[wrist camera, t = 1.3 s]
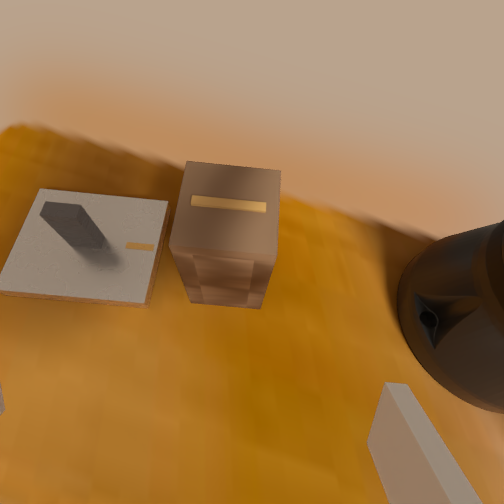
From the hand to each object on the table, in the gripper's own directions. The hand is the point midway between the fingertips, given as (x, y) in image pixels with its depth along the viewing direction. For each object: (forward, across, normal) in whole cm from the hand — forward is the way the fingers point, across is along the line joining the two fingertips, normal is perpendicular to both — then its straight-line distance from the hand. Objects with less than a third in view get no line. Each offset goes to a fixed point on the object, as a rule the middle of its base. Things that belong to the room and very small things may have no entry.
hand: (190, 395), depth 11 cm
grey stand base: (+18, -12, -2) cm, 22 cm away
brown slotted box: (+18, 0, -3) cm, 18 cm away
